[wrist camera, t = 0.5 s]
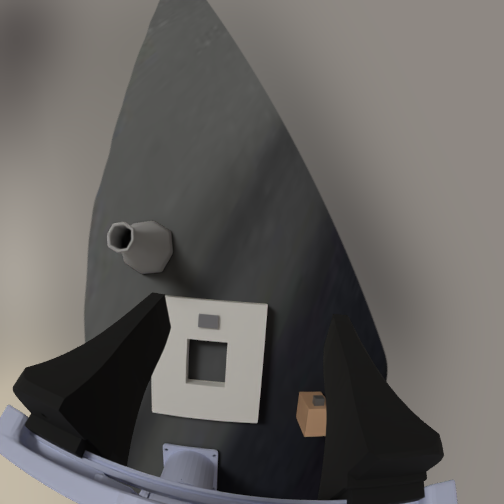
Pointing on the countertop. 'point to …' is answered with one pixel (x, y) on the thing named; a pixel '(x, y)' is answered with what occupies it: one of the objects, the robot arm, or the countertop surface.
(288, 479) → the countertop surface
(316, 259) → the countertop surface
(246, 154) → the countertop surface
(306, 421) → the plug
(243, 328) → the socket
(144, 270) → the flask
